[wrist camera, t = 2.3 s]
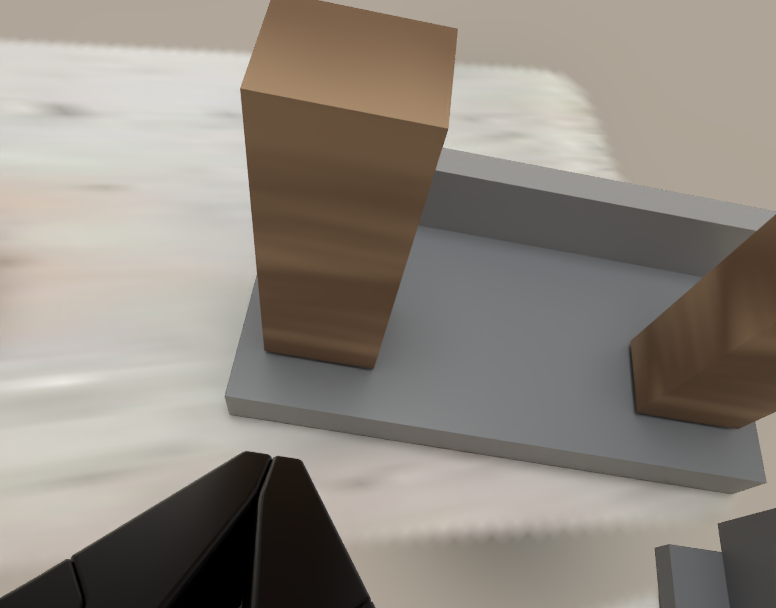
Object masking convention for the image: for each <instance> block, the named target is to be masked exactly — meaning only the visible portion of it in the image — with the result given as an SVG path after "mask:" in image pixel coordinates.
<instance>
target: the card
mask: <svg viewBox="0 0 776 608" xmlns="http://www.w3.org/2000/svg"><path fill="white" fill-rule="evenodd" d="M718 529H719V536H720V542H721V550H722V552H717V551H710V550H703V549H697V548H690V547H684V546H676V545H670V544H669V545H664V546H660V547H657V548H655V556H656V567H657V578H658V588H659V599H660V608H776V508H774V509H770V510H767V511H763V512H759V513H756V514H752V515H748V516H745V517H741V518H737V519H733V520H729V521H725V522H722V523H718Z"/></svg>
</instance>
